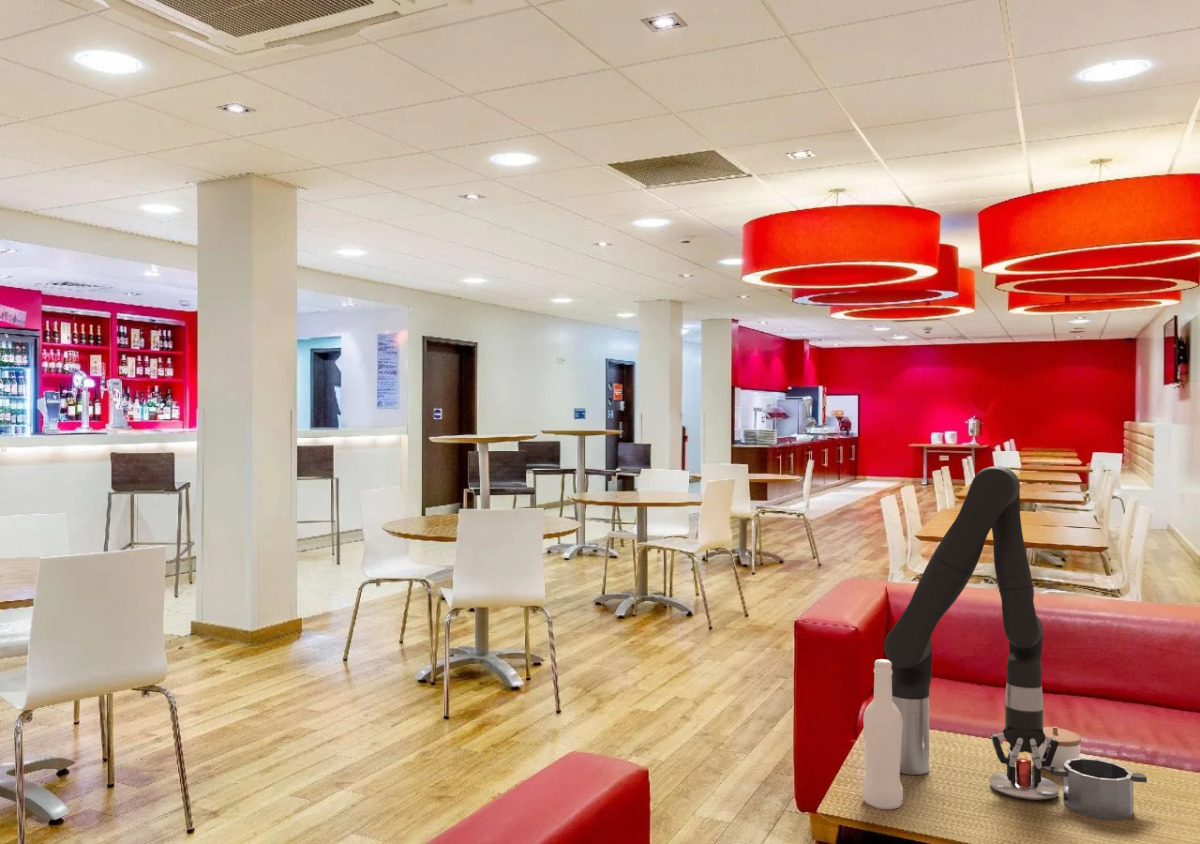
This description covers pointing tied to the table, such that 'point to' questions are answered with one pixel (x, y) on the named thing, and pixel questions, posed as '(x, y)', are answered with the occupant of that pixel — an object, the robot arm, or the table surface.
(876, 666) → the bottle
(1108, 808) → the pot
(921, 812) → the table surface
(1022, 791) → the lid
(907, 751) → the robot arm
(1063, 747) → the lidded jar
